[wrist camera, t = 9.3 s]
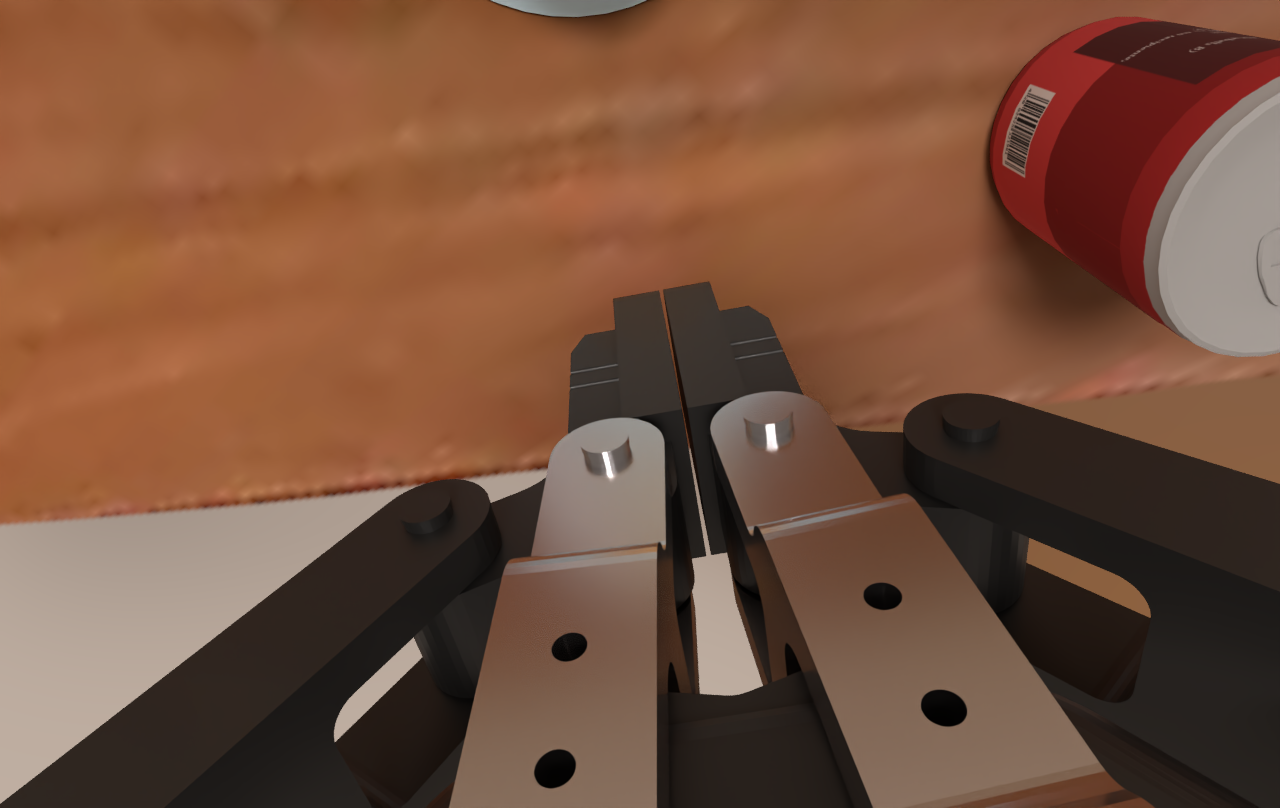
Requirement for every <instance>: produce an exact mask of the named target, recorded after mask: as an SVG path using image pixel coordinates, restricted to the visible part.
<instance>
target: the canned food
mask: <svg viewBox="0 0 1280 808" xmlns="http://www.w3.org/2000/svg"><path fill="white" fill-rule="evenodd" d="M990 165H991V170H992V175H993V180H994V182H995V185H996V188H997V190H998V192H999V195H1000V197H1001V199H1002V202H1003V204H1004V205H1005V207H1006V208H1007V209H1008V211H1009V212H1010V213H1011V215H1012V216H1013V217H1014V218H1015V219H1016V220H1017V221H1018V222H1020V223H1021V224H1022V225H1023V226H1025V227H1026V228H1027V229H1029V230H1030V231H1031V232H1033V233H1034V234H1036V235H1037V236H1038V237H1040V238H1041V239H1043V240H1044V241H1045V242H1047V243H1048V244H1050V245H1051V246H1052V247H1054V248H1055V249H1057V250H1058V251H1059V252H1061V253H1062V254H1064V255H1065V256H1066V257H1068V258H1069V259H1071V260H1072V261H1073V262H1075V263H1076V264H1078V265H1079V266H1080V267H1082V268H1083V269H1085V270H1086V271H1087V272H1089V273H1090V274H1092V275H1093V276H1094V277H1096V278H1097V279H1099V280H1100V281H1101V282H1103V283H1104V284H1106V285H1107V286H1108V287H1110V288H1111V289H1113V290H1114V291H1115V292H1117V293H1118V294H1120V295H1121V296H1122V297H1124V298H1125V299H1126V300H1128V301H1129V302H1131V303H1132V304H1133V305H1135V306H1136V307H1138V308H1139V309H1140V310H1142V311H1143V312H1145V313H1146V314H1147V315H1149V316H1150V317H1152V318H1153V319H1154V320H1156V321H1157V322H1159V323H1161V324H1162V325H1164V326H1166V327H1167V328H1169V329H1170V330H1171V331H1173V332H1174V333H1176V334H1177V335H1179V336H1180V337H1181V338H1184V339H1186V340H1188V341H1191V342H1193V343H1194V344H1196V345H1198V346H1200V347H1203V348H1205V349H1207V350H1210V351H1212V352H1214V353H1218V354H1224V355H1230V356H1236V357H1249V356H1265V355H1270V354H1275V353H1280V41H1277V40H1271V39H1265V38H1259V37H1253V36H1247V35H1241V34H1236V33H1230V32H1224V31H1218V30H1212V29H1206V28H1200V27H1194V26H1188V25H1182V24H1177V23H1171V22H1165V21H1159V20H1153V19H1147V18H1141V17H1115V18H1110V19H1106V20H1102V21H1098V22H1094V23H1091V24H1088V25H1086V26H1083V27H1081V28H1079V29H1076V30H1074V31H1072V32H1070V33H1067V34H1065V35H1063V36H1061V37H1060V38H1058V39H1057V40H1055V41H1054V42H1052V43H1051V44H1049V45H1048V46H1046V47H1045V48H1043V49H1042V50H1041V51H1040V52H1039V53H1038V54H1037V55H1036V56H1035V57H1034V58H1033V59H1032V60H1031V61H1030V62H1029V63H1028V64H1027V65H1026V66H1025V67H1024V68H1023V70H1022V71H1021V72H1020V73H1019V75H1018V76H1017V77H1016V79H1015V80H1014V81H1013V82H1012V84H1011V86H1010V88H1009V90H1008V91H1007V93H1006V95H1005V97H1004V98H1003V100H1002V102H1001V105H1000V107H999V110H998V113H997V116H996V118H995V121H994V125H993V130H992V135H991V140H990Z"/></svg>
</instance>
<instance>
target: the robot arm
mask: <svg viewBox="0 0 1280 808" xmlns="http://www.w3.org/2000/svg"><path fill="white" fill-rule="evenodd" d="M663 293H664V299H665V305H666V312H667V318H668V324H669V330H670V336H671V342H672V348H673V354H674V360H675V366H676V372H677V378H678V384H679V390H680V395H681V401H682V407H683V412H684V417H685V422H686V428H687V433H688V438H689V443H690V448H691V453H692V458H693V464H694V469H695V473H696V479H697V484H698V489H699V494H700V500H701V505H702V509H703V515H704V520H705V525H706V530H707V535H708V540H709V545H710V551H711V555H714V554H720V553H726V552H727V554H728V558H729V563H730V567H731V573H732V581H733V587H734V594H735V600H736V604H737V607H738V610H739V613H740V616H741V619H742V622H743V625H744V628H745V631H746V634H747V637H748V641H749V643H750V646H751V650H752V653H753V656H754V659H755V662H756V665H757V668H758V671H759V674H760V677H761V681H762V684H763V686H762V687H759V688H757V689H754V690H752V691H749V692H746V693H743V694H740V695H733V696H722V695H707V694H700V691H699V673H698V653H697V635H696V617H695V605H694V600H693V594H692V589H693V586H694V570H693V564H692V558H697V557H704V556H706V552H705V546H704V539H703V533H702V527H701V521H700V516H699V509H698V504H697V497H696V491H695V485H694V479H693V473H692V467H691V461H690V455H689V449H688V443H687V437H686V431H685V425H684V419H683V413H682V408H681V402H680V397H679V392H678V387H677V382H676V376H675V371H674V366H673V361H672V355H671V350H670V345H669V340H668V335H667V329H666V324H665V319H664V314H663V309H662V303H661V298H660V293H659V291H654V292H648V293H643V294H637V295H631V296H626V297H620V298H615V299H613V303H614V318H615V330H611V331H605V332H599V333H594V334H588V335H585V336H584V337H583V338H582V340H581V341H580V342H579V344H578V345H577V346H576V348H575V349H574V350H573V351H572V353H571V375H570V389H571V390H570V398H569V424H568V435H566V436H565V437H564V438H563V439H561V440H560V441H559V443H558V444H557V445H556V446H555V448H554V449H553V451H552V453H551V456H550V460H549V465H548V471H547V476H546V478H544V479H543V480H542V481H540V482H539V483H537V484H535V485H533V486H531V487H530V488H528V489H525V490H523V491H521V492H518V493H516V494H513V495H510V496H508V497H505V498H503V499H500V500H498V501H495V502H492V503H490V500H489V497H488V494H487V493H486V491H485V490H484V489H483V488H482V487H481V486H479V485H477V484H475V483H473V482H470V481H466V480H458V479H449V480H440V481H435V482H431V483H427V484H424V485H421V486H418V487H415V488H413V489H411V490H409V491H407V492H405V493H403V494H401V495H399V496H398V497H396V498H395V499H394V500H392V501H391V502H389V503H388V504H387V505H386V506H384V507H383V508H382V509H380V510H379V511H378V512H376V513H375V514H374V515H372V516H371V517H370V518H369V519H367V520H366V521H365V522H363V523H362V524H361V525H360V526H358V527H357V528H356V529H354V530H353V531H352V532H351V533H349V534H348V535H347V536H345V537H344V538H343V539H342V540H340V541H339V542H338V543H336V544H335V545H334V546H333V547H331V548H330V549H329V550H327V551H326V552H325V553H323V554H322V555H321V556H320V557H319V558H317V559H316V560H314V561H313V562H312V563H311V564H309V565H308V566H307V567H305V568H304V569H303V570H302V571H300V572H299V573H298V574H296V575H295V576H294V577H292V578H291V579H290V580H289V581H287V582H286V583H285V584H283V585H282V586H281V587H280V588H278V589H277V590H276V591H274V592H273V593H272V594H271V595H269V596H268V597H267V598H265V599H264V600H263V601H262V602H260V603H259V604H258V605H256V606H255V607H254V608H252V609H251V610H250V611H249V612H247V613H246V614H245V615H243V616H242V617H241V618H240V619H238V620H237V621H236V622H234V623H233V624H232V625H231V626H229V627H228V628H227V629H225V630H224V631H223V632H222V633H220V634H219V635H218V636H216V637H215V638H214V639H212V640H211V641H210V642H209V643H207V644H206V645H205V646H203V648H201V649H200V650H198V651H197V652H196V653H195V654H193V655H192V656H191V657H189V658H188V659H187V660H185V661H184V662H183V663H182V664H180V665H179V666H178V667H176V668H175V669H174V670H172V671H171V672H170V673H169V674H167V675H166V676H165V677H163V678H162V679H161V680H160V681H158V682H157V683H156V684H154V685H153V686H152V687H151V688H149V689H148V690H147V691H145V692H144V693H143V694H142V695H140V696H139V697H138V698H136V699H135V700H134V701H133V702H131V703H130V704H129V705H127V706H126V707H125V708H123V709H122V710H121V711H120V712H118V713H117V714H116V715H114V716H113V717H112V718H111V719H109V720H108V721H107V722H106V723H104V724H103V725H102V726H100V727H99V728H98V729H96V730H95V731H94V732H92V733H91V734H90V735H89V736H87V737H86V738H85V739H83V740H82V741H81V742H80V743H78V744H77V745H76V746H74V747H73V748H72V749H71V750H69V751H68V752H67V753H65V754H64V755H63V756H62V757H60V758H59V759H58V760H56V761H55V762H54V763H52V764H51V765H50V766H49V767H47V768H46V769H45V770H43V771H42V772H41V773H40V774H38V775H37V776H36V777H35V778H33V779H32V780H31V781H29V782H28V783H27V784H26V785H24V786H23V787H22V788H20V789H19V790H18V791H16V792H15V793H14V794H12V795H11V796H10V797H9V798H7V799H6V800H5V801H3V802H2V803H1V804H0V808H1280V484H1278V483H1275V482H1271V481H1268V480H1265V479H1262V478H1258V477H1255V476H1252V475H1249V474H1246V473H1242V472H1239V471H1236V470H1232V469H1229V468H1226V467H1223V466H1220V465H1216V464H1213V463H1209V462H1207V461H1203V460H1200V459H1197V458H1194V457H1190V456H1187V455H1184V454H1181V453H1177V452H1174V451H1170V450H1168V449H1164V448H1161V447H1158V446H1154V445H1151V444H1148V443H1145V442H1142V441H1139V440H1135V439H1132V438H1129V437H1126V436H1122V435H1119V434H1116V433H1112V432H1109V431H1106V430H1103V429H1100V428H1096V427H1093V426H1090V425H1087V424H1083V423H1080V422H1077V421H1074V420H1070V419H1067V418H1063V417H1061V416H1057V415H1054V414H1051V413H1048V412H1044V411H1041V410H1038V409H1035V408H1031V407H1028V406H1025V405H1022V404H1019V403H1015V402H1012V401H1009V400H1006V399H1002V398H998V397H994V396H989V395H983V394H971V393H965V394H950V395H944V396H939V397H936V398H932V399H929V400H927V401H925V402H923V403H920V404H919V405H917V406H916V407H914V408H913V409H912V410H911V411H910V412H909V413H908V415H907V416H906V418H905V420H904V424H903V433H902V432H869V431H858V430H852V429H847V428H843V427H839V426H837V425H835V424H834V422H833V421H832V419H831V417H830V416H829V414H828V413H827V411H826V410H825V409H824V407H823V406H822V405H821V404H819V403H818V402H817V401H815V400H813V399H811V398H810V397H807V396H804V395H803V393H802V391H801V389H800V386H799V384H798V382H797V380H796V378H795V375H794V373H793V371H792V369H791V367H790V364H789V362H788V360H787V358H786V356H785V353H783V349H782V347H781V344H780V342H779V340H778V338H777V337H776V333H775V331H774V329H773V327H772V325H771V322H770V320H769V318H768V317H766V316H764V315H763V314H761V313H759V312H758V311H756V310H754V309H753V308H751V307H749V306H745V307H739V308H734V309H728V310H722V311H719V309H718V306H717V303H716V300H715V297H714V294H713V291H712V288H711V285H710V282H703V283H698V284H692V285H687V286H681V287H675V288H670V289H664V290H663ZM1029 538H1031V539H1034V540H1036V541H1038V542H1041V543H1043V544H1045V545H1048V546H1050V547H1053V548H1055V549H1057V550H1060V551H1062V552H1064V553H1067V554H1069V555H1071V556H1074V557H1076V558H1079V559H1081V560H1083V561H1086V562H1088V563H1090V564H1093V565H1095V566H1097V567H1100V568H1102V569H1105V570H1107V571H1109V572H1112V573H1114V574H1116V575H1118V576H1120V577H1122V578H1123V579H1125V580H1127V581H1128V582H1129V583H1131V584H1132V585H1133V586H1134V587H1135V588H1137V590H1138V591H1139V592H1140V593H1141V594H1142V595H1143V597H1144V598H1145V600H1146V601H1147V603H1148V605H1149V608H1150V611H1151V618H1149V617H1146V616H1144V615H1142V614H1140V613H1137V612H1135V611H1133V610H1131V609H1128V608H1126V607H1124V606H1122V605H1119V604H1117V603H1115V602H1113V601H1111V600H1108V599H1106V598H1104V597H1102V596H1099V595H1097V594H1095V593H1093V592H1091V591H1088V590H1086V589H1084V588H1081V587H1079V586H1077V585H1075V584H1072V583H1070V582H1068V581H1066V580H1064V579H1061V578H1059V577H1057V576H1054V575H1052V574H1050V573H1048V572H1046V571H1044V570H1041V569H1039V568H1037V567H1035V566H1032V565H1030V564H1028V563H1026V560H1027V552H1028V544H1029ZM413 637H414V639H415V641H416V643H417V645H418V648H419V650H420V652H421V654H422V656H423V657H422V658H421V659H420V661H418V663H416V664H415V665H414V666H413V667H412V668H411V669H410V670H409V671H408V672H407V673H406V674H405V675H404V676H403V677H402V678H401V679H400V680H399V681H398V682H397V683H396V684H395V685H394V686H393V687H392V688H391V689H390V690H389V691H388V692H386V694H384V695H383V696H382V697H381V698H380V699H379V700H378V701H377V702H376V703H375V704H374V705H373V706H372V707H371V708H370V709H369V710H368V711H367V712H366V713H365V714H364V715H363V716H362V717H361V718H360V719H359V720H358V721H357V722H356V723H355V724H354V725H353V726H352V727H351V728H349V730H347V731H346V732H345V733H344V734H343V735H342V736H341V737H340V738H339V739H338V740H337V741H336V742H334V727H335V723H336V720H337V717H338V715H339V713H340V711H341V709H342V707H343V706H344V704H345V703H346V702H347V700H348V699H349V698H350V697H351V696H352V695H353V694H354V693H355V692H356V691H357V690H358V689H359V688H360V687H361V686H362V685H363V684H364V683H365V682H366V681H368V680H369V679H370V678H371V677H372V676H373V675H374V674H375V673H376V672H377V671H378V670H379V669H380V668H381V667H382V666H383V665H385V664H386V663H387V662H388V661H389V660H390V659H391V658H392V657H393V656H394V655H395V654H396V653H397V652H398V651H399V650H400V649H401V648H403V647H404V645H406V644H407V643H408V642H409V641H410V640H411V639H412V638H413Z"/></svg>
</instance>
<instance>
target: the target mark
mask: <svg viewBox="0 0 1280 808" xmlns="http://www.w3.org/2000/svg"><path fill="white" fill-rule="evenodd" d="M492 1H494V2H496V3H499V4H502V5H505V6H508V7H512V8H515V9H518V10H521V11H524V12H530V13H536V14H542V15H548V16H564V17H582V16H590V15H599V14H606V13H610V12H614V11H617V10H621V9H625V8H629V7H632V6H634V5H637V4H639V3H641V2H644V1H646V0H492Z"/></svg>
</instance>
